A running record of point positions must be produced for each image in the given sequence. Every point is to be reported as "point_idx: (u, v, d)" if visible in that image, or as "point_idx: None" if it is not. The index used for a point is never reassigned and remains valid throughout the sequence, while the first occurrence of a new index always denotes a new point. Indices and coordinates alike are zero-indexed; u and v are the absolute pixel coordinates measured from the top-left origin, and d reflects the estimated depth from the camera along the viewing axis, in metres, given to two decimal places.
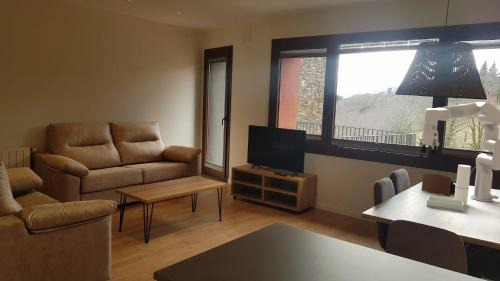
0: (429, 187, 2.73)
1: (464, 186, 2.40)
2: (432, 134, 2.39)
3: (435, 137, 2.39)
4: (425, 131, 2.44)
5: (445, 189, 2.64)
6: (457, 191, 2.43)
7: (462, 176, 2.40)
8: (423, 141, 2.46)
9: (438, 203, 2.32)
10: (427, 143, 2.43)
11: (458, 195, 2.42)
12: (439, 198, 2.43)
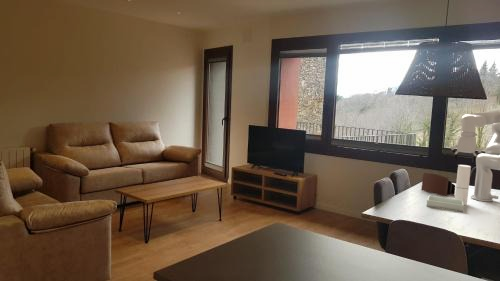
0: (428, 187, 2.74)
1: (464, 186, 2.40)
2: (475, 141, 2.36)
3: (475, 144, 2.38)
4: (464, 138, 2.38)
5: (443, 189, 2.64)
6: (457, 191, 2.43)
7: (462, 176, 2.40)
8: (461, 149, 2.40)
9: (438, 203, 2.32)
10: (468, 150, 2.38)
11: (458, 195, 2.42)
12: (439, 198, 2.43)
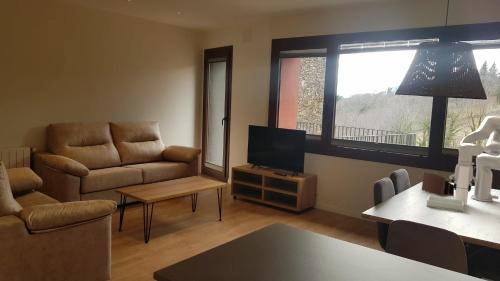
0: (427, 187, 2.74)
1: (464, 186, 2.40)
2: (472, 170, 2.39)
3: (472, 173, 2.40)
4: None
5: (440, 189, 2.64)
6: (457, 191, 2.43)
7: (462, 176, 2.40)
8: None
9: (438, 203, 2.32)
10: None
11: (458, 195, 2.42)
12: (439, 198, 2.43)
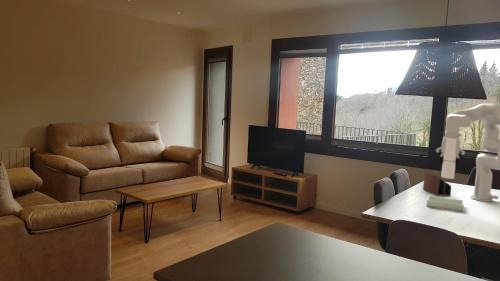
0: (427, 186, 2.76)
1: (451, 158, 2.30)
2: (459, 142, 2.28)
3: None
4: None
5: (435, 189, 2.64)
6: (444, 165, 2.32)
7: (449, 148, 2.30)
8: None
9: (438, 203, 2.32)
10: None
11: (445, 168, 2.32)
12: (439, 198, 2.43)
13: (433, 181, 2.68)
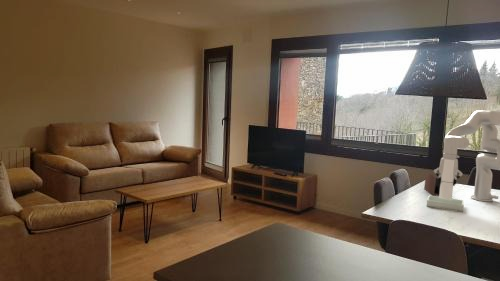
0: (427, 186, 2.76)
1: (449, 180, 2.31)
2: (457, 163, 2.30)
3: (457, 166, 2.32)
4: None
5: (432, 188, 2.65)
6: (442, 185, 2.34)
7: (446, 169, 2.31)
8: None
9: (438, 203, 2.32)
10: None
11: (443, 189, 2.33)
12: (439, 198, 2.43)
13: (431, 181, 2.68)
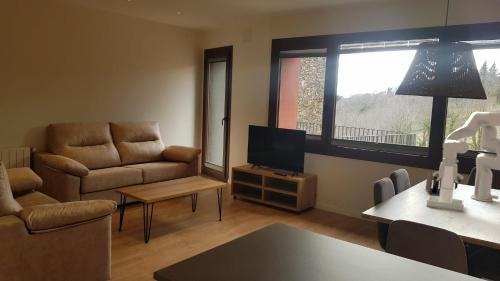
0: (427, 186, 2.77)
1: (448, 187, 2.32)
2: (456, 168, 2.30)
3: None
4: (446, 165, 2.32)
5: (429, 188, 2.66)
6: (442, 192, 2.34)
7: (446, 176, 2.32)
8: (442, 175, 2.34)
9: (438, 203, 2.32)
10: None
11: (442, 196, 2.34)
12: None
13: (429, 180, 2.69)
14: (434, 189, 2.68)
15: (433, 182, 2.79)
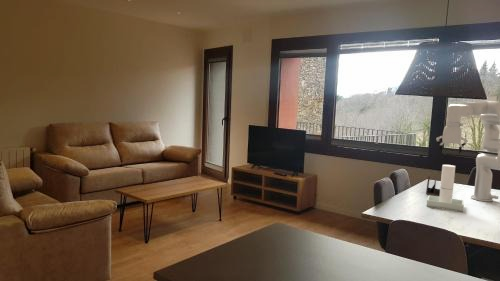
0: (427, 186, 2.78)
1: (448, 187, 2.32)
2: (460, 132, 2.28)
3: None
4: (450, 129, 2.30)
5: None
6: (441, 192, 2.34)
7: (446, 176, 2.32)
8: (446, 139, 2.31)
9: (438, 203, 2.32)
10: (453, 141, 2.30)
11: (442, 196, 2.34)
12: None
13: None
14: (432, 189, 2.69)
15: None
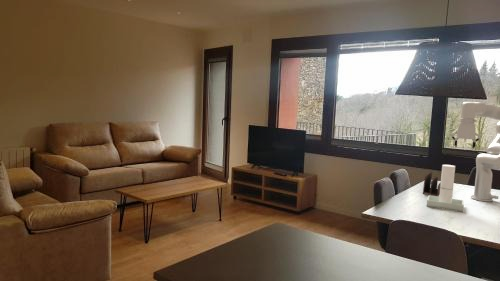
0: None
1: (448, 187, 2.32)
2: (474, 127, 2.39)
3: None
4: (464, 125, 2.41)
5: None
6: (441, 192, 2.34)
7: (446, 176, 2.32)
8: (460, 135, 2.43)
9: (438, 203, 2.32)
10: (467, 137, 2.41)
11: (442, 196, 2.34)
12: None
13: None
14: (430, 188, 2.70)
15: None
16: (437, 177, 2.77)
